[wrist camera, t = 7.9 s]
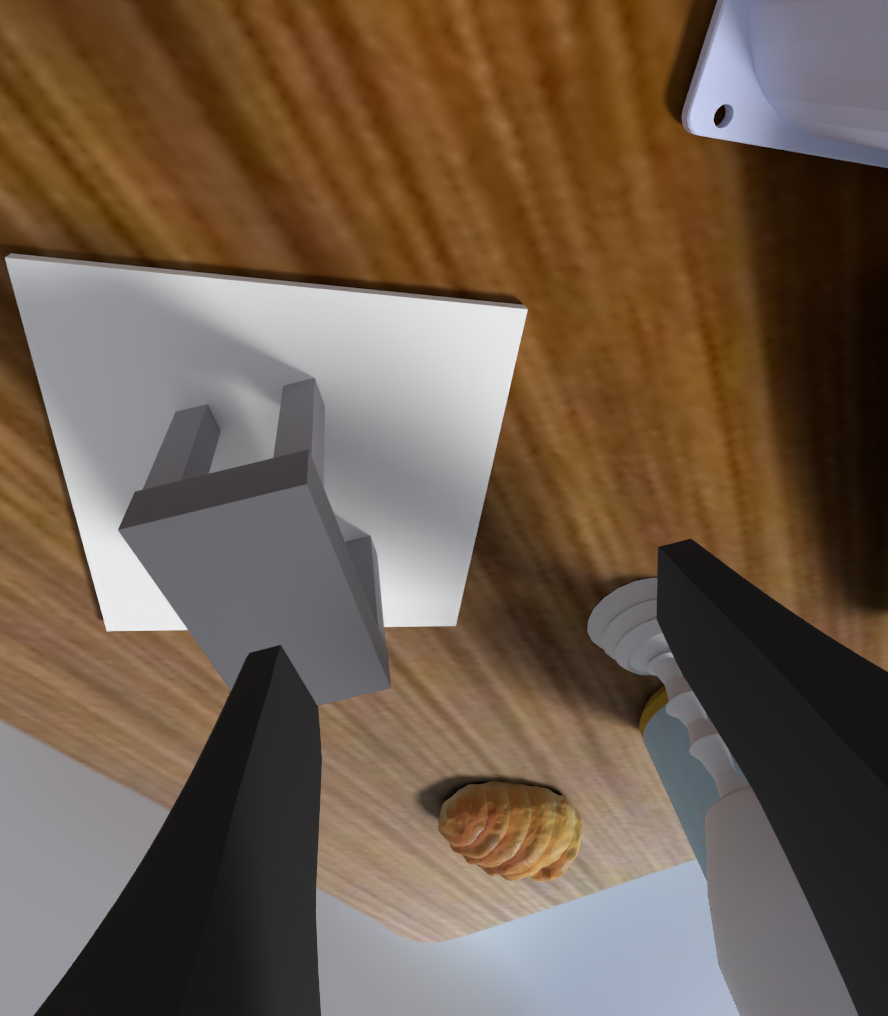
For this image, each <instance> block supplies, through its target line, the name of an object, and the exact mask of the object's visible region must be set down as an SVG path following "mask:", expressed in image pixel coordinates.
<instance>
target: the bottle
mask: <svg viewBox="0 0 888 1016" xmlns="http://www.w3.org/2000/svg"><path fill="white" fill-rule="evenodd" d="M683 678H684V679H685V677H684V676H683ZM685 680H686V679H685ZM668 701H669V699H668V695H667V691H666V688H665V685H663V686H662V687H661V688H660V689H659V690H658V691H656V692H655V693H654V694H653V695H652V696H651V697H650V699H649V700H648V702H647V703H646V705H645V707H644V710H643V712H642V715H641V718H640V724H639V730H640V733H641V735H642V737H643V740H644V743H645V745H646V748H647V750H648V752H649V754H650V756H651V759H652V761H653V763H654V765H655V767H656V770H657V772H658V774H659V776H660V778H661V781H662V783H663V785H664V787H665V790H666V792H667V794H668V796H669V798H670V801H671V803H672V805H673V807H674V809H675V812H676V814H677V816H678V818H679V820H680V823H681V825H682V827H683V829H684V832H685V834H686V836H687V838H688V840H689V843H690V845H691V847H692V849H693V851H694V854H695V856H696V858H697V860H698V862H699V865H700V867H701V869H702V871H703V874H704V876H705V878H706V880H707V859H706V833H705V816H706V812H707V811H708V810H709V809H710V808H711V806H712V805H714V804H715V803H716V802H717V801H718V800H719V799H720V796H719V793H718V790H717V786H716V783H715V780H714V778H713V777H712V775H711V774H710V773H709V771H708V770H707V769H706V768H705V766H704V765H703V764H702V762H701V761H700V760H699V759H697V758H695V757H693V756H692V755H690V753H689V749H690V743H691V742H690V737H689V733H688V728H687V727H686V726H685V725H684V724H683V723H682V722H681V721H680V720H679V719H678V718H676V717H673V716H670V715H669V714H667V712H666V706H667V703H668ZM706 716H707V720H708V722H709V723H710V724H711V725H712V726H713V727H714V725H713V723H712V722H711V720H710V719H709V717H708V715H707V714H706ZM714 728H715V727H714ZM715 729H716V728H715ZM728 750H729V749H728ZM729 753H730V751H729ZM730 756H731V759H732V762H733V765H734V768H735V770H736V772H737V773H738V774H739V775H740V776H741V778H742V779H743V780H744V781H745V783H746V784H747V785H748V786H749V787H751V786H750V784H749V783H748V781H747V779H746V777H745V776H744V774H743V772H742V771H741V769H740V767H739V766H738V764H737V763H736V761H735V759H734V758H733V756H732V754H731V753H730Z"/></svg>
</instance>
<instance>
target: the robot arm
mask: <svg viewBox="0 0 888 1016" xmlns="http://www.w3.org/2000/svg"><path fill="white" fill-rule="evenodd" d="M722 105H724V106H725V109H726V112H725V117H724V119H723V121H722V122H721V123H720V124H719V125H717V126H715V123H714V114H715V113H716V111H717V109H718V108H719V107H720V106H722ZM682 124H683V127H684V128H685V129H686V131H687V132H689V133H691V134H694V135H699V136H705V137H710V138H716V139H722V140H728V141H734V142H739V143H745V144H751V145H757V146H763V147H768V148H774V149H780V150H786V151H792V152H798V153H803V154H809V155H815V156H821V157H827V158H832V159H838V160H844V161H850V162H856V163H861V164H867V165H873V166H879V167H885V168H888V0H717V3H716V6H715V9H714V12H713V16H712V19H711V22H710V25H709V28H708V31H707V34H706V38H705V41H704V44H703V47H702V50H701V53H700V57H699V60H698V63H697V66H696V69H695V72H694V75H693V79H692V82H691V85H690V88H689V91H688V94H687V98H686V101H685V104H684V107H683V111H682ZM656 619H657V622H658V624H659V626H660V628H661V630H662V633H663V635H664V637H665V639H666V642H667V644H668V646H669V648H670V650H671V652H672V655H673V657H674V659H675V661H676V663H677V665H678V667H679V669H680V671H681V672H682V674H683V676H684V677H685V679H686V681H687V682H688V684H689V686H690V687H691V689H692V691H693V692H694V694H695V696H696V697H697V699H698V701H699V702H700V704H701V706H702V707H703V709H704V710H705V712H706V714H707V715H708V717H709V719H710V720H711V722H712V723H713V725H714V727H715V728H716V730H717V732H718V733H719V735H720V736H721V738H722V740H723V741H724V743H725V745H726V746H727V748H728V749H729V751H730V753H731V754H732V756H733V758H734V759H735V761H736V763H737V764H738V766H739V767H740V769H741V771H742V772H743V774H744V776H745V777H746V779H747V781H748V783H749V784H750V786H751V788H752V790H753V792H754V793H755V795H756V797H757V799H758V800H759V802H760V804H761V806H762V808H763V810H764V812H765V815H766V817H767V819H768V821H769V823H770V825H771V827H772V829H773V831H774V833H775V835H776V837H777V839H778V841H779V843H780V845H781V847H782V849H783V851H784V853H785V855H786V857H787V859H788V861H789V863H790V865H791V868H792V870H793V872H794V874H795V876H796V878H797V880H798V882H799V884H800V887H801V889H802V891H803V893H804V895H805V897H806V899H807V901H808V903H809V906H810V908H811V910H812V912H813V914H814V916H815V919H816V921H817V923H818V925H819V927H820V930H821V932H822V934H823V936H824V938H825V941H826V943H827V945H828V947H829V950H830V952H831V954H832V956H833V958H834V961H835V963H836V965H837V967H838V970H839V972H840V974H841V976H842V978H843V981H844V983H845V985H846V988H847V990H848V992H849V995H850V997H851V999H852V1002H853V1004H854V1006H855V1009H856V1011H857V1013H858V1016H888V672H887V671H885V670H883V669H882V668H880V667H878V666H877V665H875V664H873V663H871V662H870V661H868V660H866V659H865V658H863V657H861V656H860V655H858V654H856V653H855V652H853V651H852V650H850V649H848V648H847V647H845V646H843V645H842V644H840V643H839V642H837V641H835V640H834V639H832V638H831V637H829V636H827V635H826V634H824V633H823V632H821V631H820V630H818V629H817V628H815V627H814V626H812V625H810V624H809V623H807V622H806V621H804V620H803V619H802V618H800V617H799V616H797V615H796V614H794V613H793V612H791V611H790V610H788V609H787V608H785V607H784V606H782V605H781V604H780V603H778V602H777V601H775V600H774V599H772V598H771V597H769V596H768V595H767V594H765V593H764V592H762V591H761V590H760V589H758V588H757V587H755V586H754V585H753V584H751V583H750V582H749V581H747V580H746V579H744V578H743V577H742V576H740V575H739V574H738V573H736V572H735V571H734V570H732V569H731V568H730V567H728V566H727V565H726V564H724V563H723V562H722V561H720V560H719V559H718V558H716V557H715V556H714V555H712V554H711V553H710V552H708V551H707V550H706V549H704V548H703V547H702V546H700V545H699V544H698V543H696V542H695V541H693V540H692V539H688V540H684V541H680V542H676V543H673V544H669V545H665V546H661V547H658V577H657V615H656ZM321 766H322V756H321V739H320V726H319V714H318V706H317V704H316V702H315V701H314V699H313V697H312V696H311V694H310V692H309V691H308V689H307V687H306V686H305V684H304V682H303V681H302V679H301V677H300V676H299V674H298V672H297V671H296V669H295V667H294V666H293V664H292V662H291V661H290V659H289V657H288V656H287V654H286V652H285V651H284V649H283V648H282V646H281V645H278V646H274V647H270V648H266V649H262V650H258V651H254V652H251V653H249V654H248V656H247V657H246V659H245V661H244V663H243V665H242V668H241V670H240V672H239V674H238V676H237V679H236V681H235V683H234V685H233V688H232V690H231V692H230V694H229V696H228V698H227V701H226V703H225V705H224V707H223V709H222V711H221V714H220V716H219V718H218V720H217V722H216V724H215V726H214V728H213V730H212V732H211V734H210V736H209V739H208V741H207V743H206V745H205V747H204V749H203V751H202V753H201V755H200V757H199V759H198V761H197V763H196V765H195V767H194V769H193V771H192V773H191V775H190V776H189V778H188V780H187V782H186V784H185V786H184V788H183V789H182V791H181V793H180V795H179V797H178V799H177V800H176V802H175V804H174V806H173V808H172V809H171V811H170V813H169V815H168V817H167V819H166V820H165V822H164V824H163V826H162V828H161V830H160V831H159V833H158V835H157V836H156V838H155V840H154V841H153V843H152V845H151V846H150V848H149V850H148V851H147V853H146V855H145V856H144V858H143V860H142V861H141V863H140V865H139V866H138V868H137V869H136V871H135V873H134V874H133V876H132V877H131V879H130V880H129V882H128V884H127V885H126V887H125V888H124V890H123V891H122V893H121V895H120V896H119V898H118V899H117V901H116V902H115V904H114V905H113V907H112V908H111V910H110V911H109V912H108V914H107V915H106V917H105V918H104V920H103V921H102V923H101V924H100V926H99V927H98V929H97V930H96V931H95V933H94V935H93V936H92V937H91V939H90V940H89V942H88V943H87V945H86V946H85V947H84V949H83V950H82V952H81V953H80V954H79V956H78V957H77V959H76V960H75V962H74V963H73V964H72V966H71V967H70V968H69V970H68V971H67V973H66V974H65V975H64V977H63V978H62V979H61V981H60V982H59V984H58V985H57V986H56V987H55V989H54V990H53V991H52V992H51V994H50V995H49V996H48V998H47V999H46V1000H45V1002H44V1003H43V1004H42V1005H41V1007H40V1008H39V1009H38V1011H37V1012H36V1013H35V1015H34V1016H321V1009H320V993H319V976H318V954H317V931H316V875H317V854H318V834H319V813H320V791H321Z"/></svg>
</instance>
